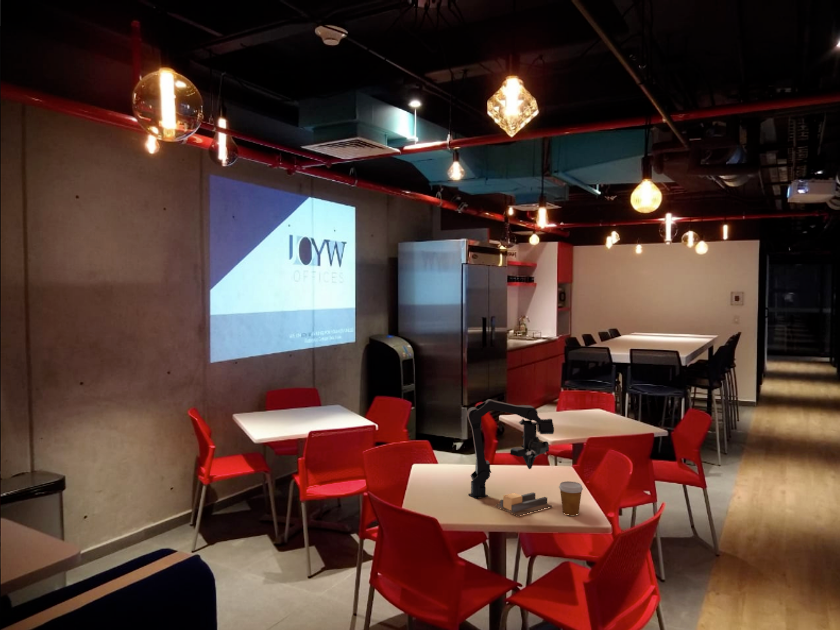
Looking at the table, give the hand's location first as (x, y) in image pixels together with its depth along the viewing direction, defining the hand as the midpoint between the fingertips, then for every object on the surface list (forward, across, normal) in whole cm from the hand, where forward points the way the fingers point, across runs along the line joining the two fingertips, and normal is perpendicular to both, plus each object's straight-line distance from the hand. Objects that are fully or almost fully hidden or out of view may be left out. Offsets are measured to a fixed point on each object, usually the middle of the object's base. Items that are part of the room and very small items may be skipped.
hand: (529, 468), depth 264 cm
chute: (+12, -13, -10) cm, 20 cm away
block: (+11, -19, -10) cm, 24 cm away
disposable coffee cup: (+12, -2, -26) cm, 29 cm away
